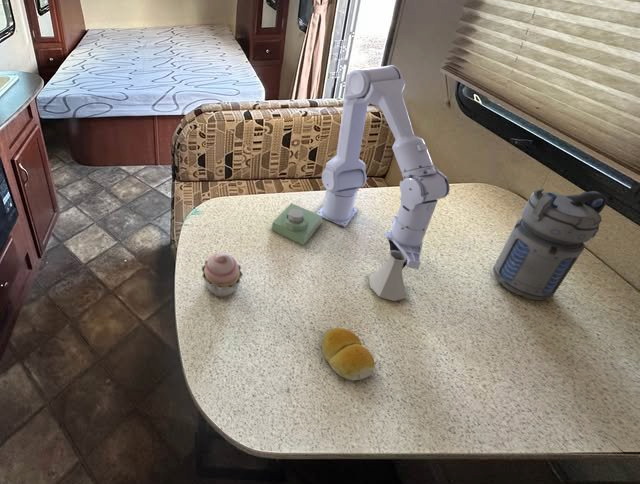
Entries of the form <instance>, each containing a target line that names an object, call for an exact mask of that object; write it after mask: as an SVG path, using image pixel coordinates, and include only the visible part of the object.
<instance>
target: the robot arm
mask: <svg viewBox="0 0 640 484" xmlns="http://www.w3.org/2000/svg"><path fill="white" fill-rule="evenodd" d="M405 86H406V82H405V80H404V78H403V74H402V71H401V69H400V68H399V67H398V66H396V65H393V64H389V65H385V66H378V67H377V66H376V67H368V68H356V69H354V70H352V71H351V72H349V73H347V74H346V78H345V86H344V92H343V93H344V94H343V104H342V111H341V119H340V126H339V133H338V141H337V149H336V155H335V156H333V157H332V158H330V160H328V161H327V162H326V163H325V167H324V170H323V171H322V174H321V182H322V185H323V187H324V188H325V195H324V198H323V199H324V200H323V204H322V206H321V207H320V209H319V210H318V211H317V212H316V214H318V215H321V216H322V219H325V220H327V221H329V222H332V223H334V224H336V225H339V226H341V227H344V228H345V227H347V225H348V224H349V222H350V221H351V220H352V219H353V217H354V215H355V214H356V213H357V211H358V209H357V208H355V203H356V200H357V195H358V192H359V190H360V188H363V187H365V185H366V183H367V173H366V169H367V164H365V162H364V161H363V160H362V159H360V156H361V149H362V143H363V138H364V131H365V124H366V118H367V112H368V106H369V104H370V105H373V106H375V107H376V106H377V107H379V109H380V110H381V112H382V115H383V116H384V119H385V120H386V123H387V125H388V127H389V129H390V131H391V134H392V135H393V137H394V139H395V140H394V143H393V144H392V147H391V148H392V151H393V154H394V157H395V159H396V162H397V165H398V167H399V170H400V173H401V175H402V179H403V180H400V181H399V191H400V198H399V199H400V206H399V207H398V211H397V214H396V215H394V216H393V218H392V221H391V223H392V227H391V229H390V231H385V232H384V237H385V239H386V240H388V244H389V251H393V250H396V251H400V252H402V253H403V255H404V256H405V257H406V259H407V261H406V262H404V264H403V268H402V270H404V269H405V267H407V268H410V269H415V270H419V268H420V266H421V263H422V262H421V253H422V249H423V244H424V238H425V236H426V233H427V230H428V229H429V225H430V223H431V220H432V217H433V214H434V212H435V209H436V207H437V204H438V200H441V199H444V198H446V197H447V196H448V195H449V193H450V191H451V190H450V189H451V188H450V183H449V178H448V177H447V176H446V175H445V174H444V173H443V172H441V171H440V170H439V168H438V167H437V166H436V165H435V166H434V163H433V161H432V159H431V155H430V153H429V151H428V147H427V145H426V143H425V141H424V139H423V138H422V137H419V136H417V135H415V133H414V130H413V126H412V123H411V120H410V117H409V113H408V110H407V106H406V103H405V100H404V97H403V96H404V95H403V91H404V89H405Z"/></svg>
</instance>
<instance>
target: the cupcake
mask: <svg viewBox="0 0 640 484" xmlns="http://www.w3.org/2000/svg"><path fill="white" fill-rule="evenodd" d="M241 269H242V266H241V265H240V264H238V262H237V260H236V258H235V257H233V256H232V255H231V254H229V253H227V252H219V253H213V254H211V255H210V256H209V257H208V259H206V260H204V265H202V266H201V271H202V275H201V277H202V279H203V280H204V281H205V283H206V286H207V289H208V290H209V292H210V293H211V294H212V295H214V296H215V297H218V298H219V297H220V298H226V297H229V296H231V295H232V294H234V292H235V291H236V289H237V286H239V284H240V283H241V278H243V276H244V273H243V272H242V271H241Z"/></svg>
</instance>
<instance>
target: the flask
mask: <svg viewBox="0 0 640 484" xmlns="http://www.w3.org/2000/svg"><path fill="white" fill-rule="evenodd" d="M388 254H389V256H388V259H387V260H386V261H385V263H384V264H383V265H382V266H381V267H380V268H378V269H377V270H376V271H375V272H373V273H372V274H371V275H370V276H369V277H368V280H369V281H368V282H369V287H370V288H371V290H373V292H374V293H375V294H376V295H377V296H378V297H379V298H382V299H386V300H389V301H393V302H396V301H400V300H404V299H406V292H405V291H406V290H405V284H404V278H403V269H404V268H403V264H404V262H406V261H407V259H406V257H405V256H404V255H403V253H402V252H400V251H396V250H393V251H390V250H389V251H388ZM402 268H403V269H402Z"/></svg>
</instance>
